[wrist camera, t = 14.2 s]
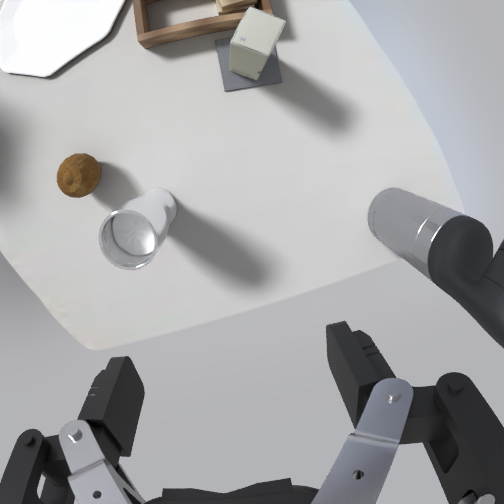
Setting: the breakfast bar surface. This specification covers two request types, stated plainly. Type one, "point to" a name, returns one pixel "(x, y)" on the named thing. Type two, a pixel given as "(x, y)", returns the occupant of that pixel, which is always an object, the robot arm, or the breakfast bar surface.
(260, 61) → the box
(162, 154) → the breakfast bar surface
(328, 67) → the breakfast bar surface
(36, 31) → the plate
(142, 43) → the wooden tray
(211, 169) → the breakfast bar surface
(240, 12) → the offcut
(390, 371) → the robot arm
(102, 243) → the beer glass
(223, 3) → the offcut
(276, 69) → the mat
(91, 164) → the fruit
